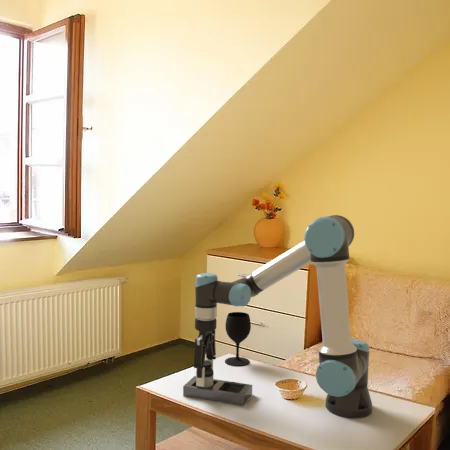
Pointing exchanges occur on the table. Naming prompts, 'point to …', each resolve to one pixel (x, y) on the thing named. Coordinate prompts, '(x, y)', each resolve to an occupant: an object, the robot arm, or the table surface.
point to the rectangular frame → (220, 391)
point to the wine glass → (237, 335)
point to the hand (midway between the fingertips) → (204, 381)
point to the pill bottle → (208, 375)
